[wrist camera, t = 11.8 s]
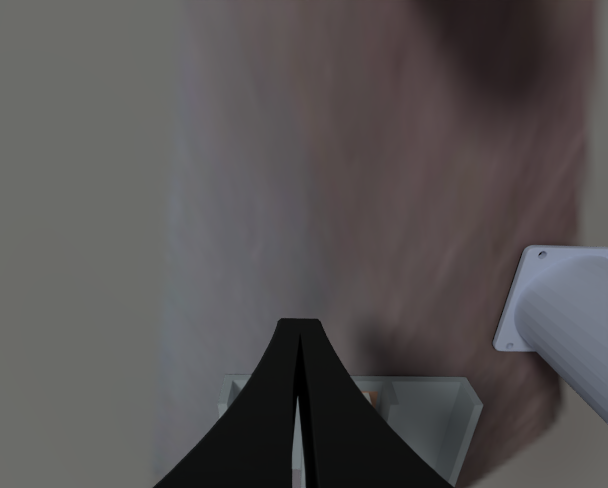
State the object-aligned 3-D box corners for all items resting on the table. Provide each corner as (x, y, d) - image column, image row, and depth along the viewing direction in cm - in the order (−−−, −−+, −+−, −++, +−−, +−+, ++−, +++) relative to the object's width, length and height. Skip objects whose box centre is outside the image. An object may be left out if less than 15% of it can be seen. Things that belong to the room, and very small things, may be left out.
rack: (465, 376, 24) (483, 405, 22) (438, 463, 28) (451, 494, 26) (225, 374, 24) (218, 403, 21) (232, 463, 28) (226, 495, 25)
